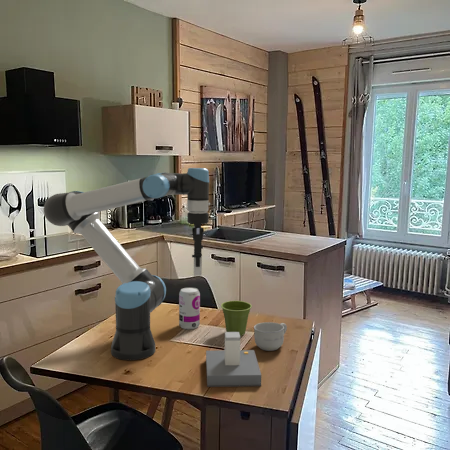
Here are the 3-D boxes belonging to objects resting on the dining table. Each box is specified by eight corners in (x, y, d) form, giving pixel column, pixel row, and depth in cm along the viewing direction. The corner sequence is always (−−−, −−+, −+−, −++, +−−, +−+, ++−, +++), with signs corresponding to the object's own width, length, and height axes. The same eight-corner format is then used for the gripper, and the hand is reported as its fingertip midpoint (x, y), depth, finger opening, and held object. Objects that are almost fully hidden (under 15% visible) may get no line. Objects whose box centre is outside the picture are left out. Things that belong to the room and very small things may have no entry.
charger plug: (225, 374, 144) (225, 337, 142) (224, 367, 148) (224, 332, 146) (239, 374, 144) (240, 337, 142) (238, 367, 148) (239, 332, 147)
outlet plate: (207, 386, 137) (207, 374, 136) (206, 360, 154) (206, 349, 154) (261, 386, 138) (261, 374, 137) (253, 360, 155) (253, 349, 155)
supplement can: (203, 325, 187) (203, 289, 185) (191, 331, 180) (191, 294, 178) (187, 321, 191) (187, 286, 189) (174, 327, 184) (174, 290, 182)
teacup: (263, 356, 159) (264, 333, 158) (247, 344, 168) (248, 323, 167) (296, 349, 165) (297, 327, 164) (279, 338, 175) (280, 318, 174)
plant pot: (214, 331, 180) (214, 304, 178) (238, 325, 187) (238, 298, 185) (233, 341, 171) (233, 312, 169) (257, 334, 178) (258, 306, 176)
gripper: (209, 216, 151) (208, 279, 154) (207, 208, 176) (207, 263, 179) (186, 216, 151) (186, 279, 154) (187, 208, 175) (187, 262, 178)
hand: (197, 270), depth 166 cm, fingers open, 13 cm apart
